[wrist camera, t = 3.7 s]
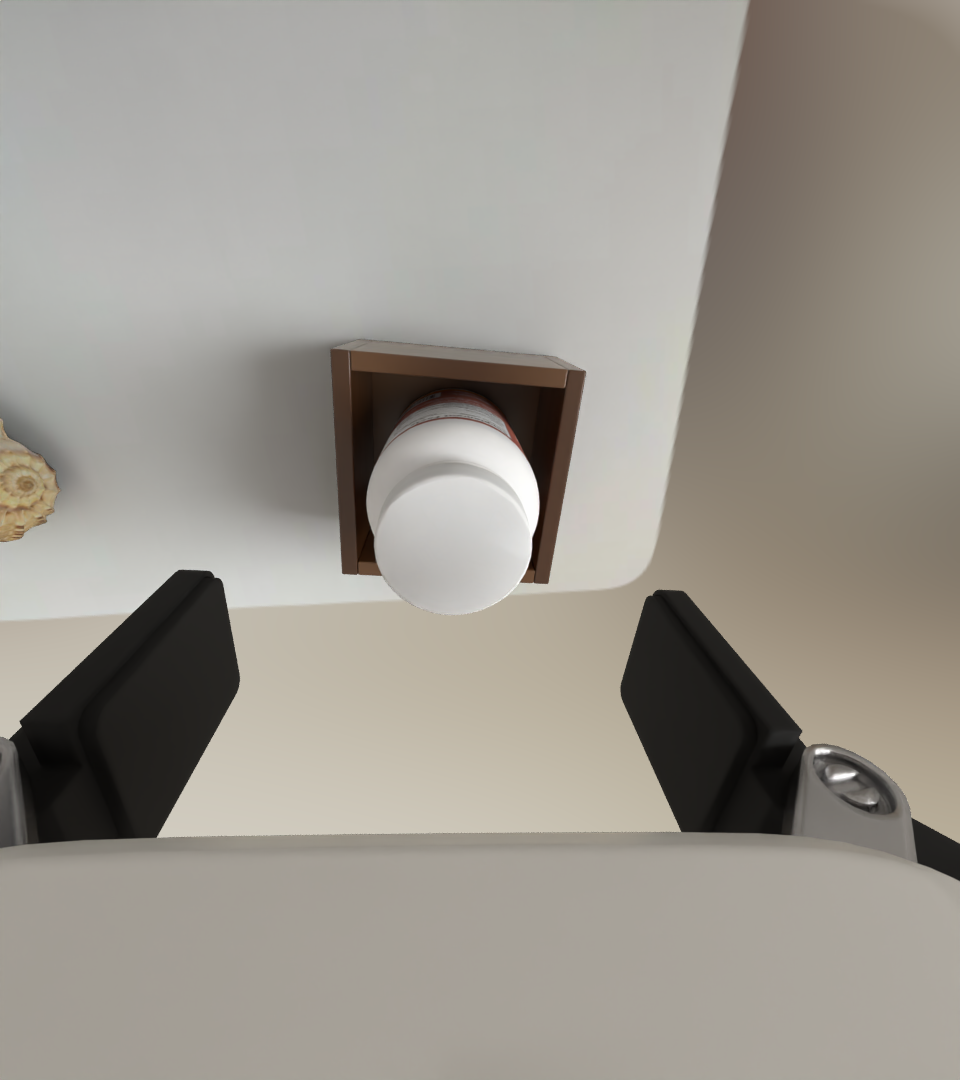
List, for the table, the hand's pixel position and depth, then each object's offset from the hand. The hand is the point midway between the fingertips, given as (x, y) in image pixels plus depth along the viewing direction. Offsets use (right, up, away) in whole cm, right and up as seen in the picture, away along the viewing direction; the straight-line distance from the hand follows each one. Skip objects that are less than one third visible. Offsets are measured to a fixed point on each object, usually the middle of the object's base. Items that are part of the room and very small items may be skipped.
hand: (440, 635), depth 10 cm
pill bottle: (0, +7, +13) cm, 15 cm away
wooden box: (0, +7, +14) cm, 15 cm away
